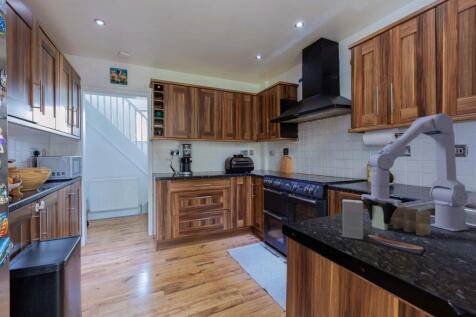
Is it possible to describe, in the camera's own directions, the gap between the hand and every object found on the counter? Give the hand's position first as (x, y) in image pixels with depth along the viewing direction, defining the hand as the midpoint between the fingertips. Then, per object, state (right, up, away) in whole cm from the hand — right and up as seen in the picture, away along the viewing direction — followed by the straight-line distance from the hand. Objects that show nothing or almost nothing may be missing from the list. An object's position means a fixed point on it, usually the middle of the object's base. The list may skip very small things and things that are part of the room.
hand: (379, 221), depth 84 cm
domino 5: (+11, -3, -7) cm, 13 cm away
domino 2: (+7, -3, +5) cm, 9 cm away
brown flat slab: (-7, -3, -16) cm, 18 cm away
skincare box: (-16, -2, -10) cm, 19 cm away
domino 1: (0, -2, 0) cm, 2 cm away
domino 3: (+8, -3, +1) cm, 9 cm away
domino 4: (+10, -3, -3) cm, 10 cm away
